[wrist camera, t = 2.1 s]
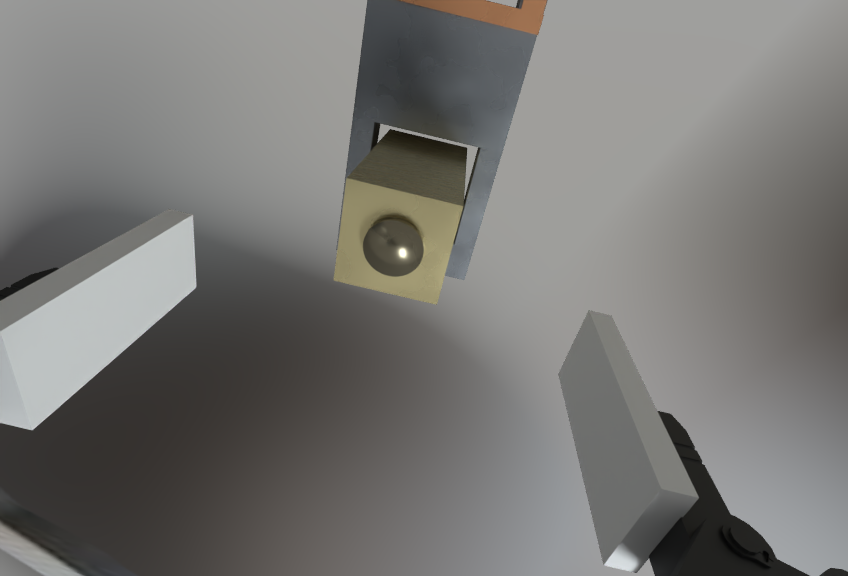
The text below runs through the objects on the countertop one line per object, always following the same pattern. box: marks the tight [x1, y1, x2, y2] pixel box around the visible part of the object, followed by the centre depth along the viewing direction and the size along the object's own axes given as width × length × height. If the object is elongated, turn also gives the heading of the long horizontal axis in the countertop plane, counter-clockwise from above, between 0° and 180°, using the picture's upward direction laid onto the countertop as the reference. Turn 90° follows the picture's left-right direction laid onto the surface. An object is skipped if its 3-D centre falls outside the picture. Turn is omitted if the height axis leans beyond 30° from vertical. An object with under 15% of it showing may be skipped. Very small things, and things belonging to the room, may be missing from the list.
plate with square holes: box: [336, 0, 547, 280], centre depth 23 cm, size 8×22×2 cm, turn 168°
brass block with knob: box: [334, 129, 467, 304], centre depth 22 cm, size 4×4×10 cm
